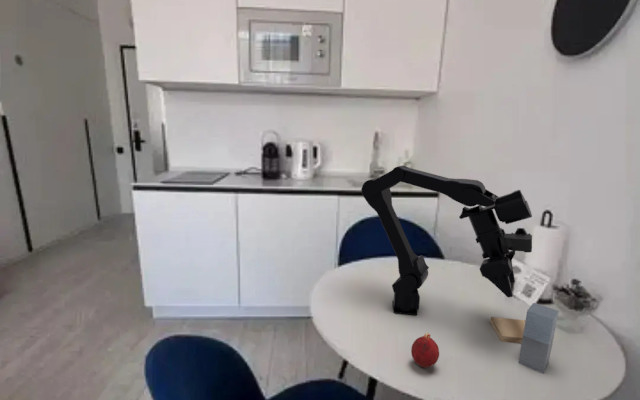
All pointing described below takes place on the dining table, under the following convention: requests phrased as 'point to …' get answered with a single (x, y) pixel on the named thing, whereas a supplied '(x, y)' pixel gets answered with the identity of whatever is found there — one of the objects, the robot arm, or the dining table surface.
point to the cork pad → (508, 329)
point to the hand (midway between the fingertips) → (511, 289)
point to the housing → (538, 337)
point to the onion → (425, 351)
